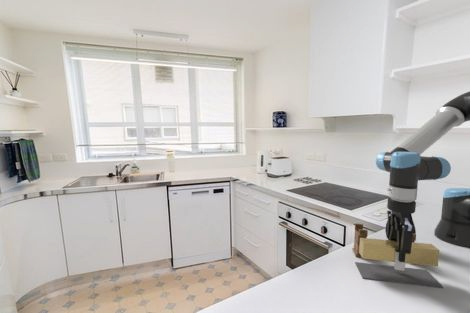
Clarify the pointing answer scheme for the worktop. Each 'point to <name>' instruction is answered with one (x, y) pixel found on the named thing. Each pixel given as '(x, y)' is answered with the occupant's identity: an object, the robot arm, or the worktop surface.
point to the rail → (386, 248)
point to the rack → (363, 234)
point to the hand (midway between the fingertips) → (395, 265)
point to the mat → (397, 275)
